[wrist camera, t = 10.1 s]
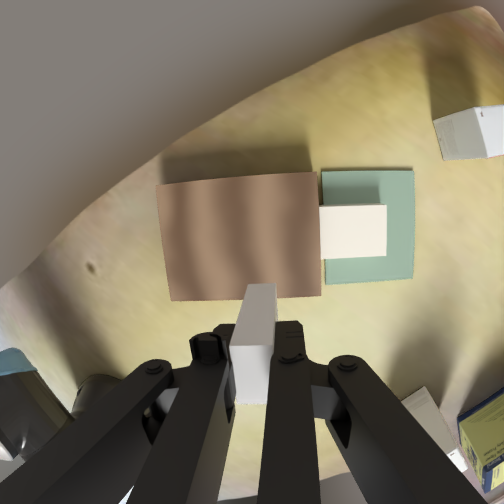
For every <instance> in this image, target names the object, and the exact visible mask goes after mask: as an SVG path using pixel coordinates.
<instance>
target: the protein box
mask: <svg viewBox="0 0 504 504" xmlns="http://www.w3.org/2000/svg"><path fill="white" fill-rule="evenodd" d="M457 424H458V431H459V439H460V444H461V446H462V448H463V450H464V452H465V454H466V456H467V458H468V460H469V462H470V463H471V466H472V468H473V470H474V472H475V474H476V476H477V478H478V480H479V482H480V484H481V486H482V489H483V491H484V493H487V492H489V491H490V490H492V489H493V488H495V487H496V486H498V485H499V484H501V483H502V482H504V387H503V388H502V389H501V390H499V391H498V392H496V393H495V394H494V395H492V396H491V397H489V398H488V399H486V400H485V401H483V402H482V403H480V404H479V405H477V406H476V407H474V408H472V409H471V410H469V411H468V412H466V413H464V414H463V415H461V416H459V417H458V418H457Z"/></svg>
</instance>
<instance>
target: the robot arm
mask: <svg viewBox="0 0 504 504" xmlns="http://www.w3.org/2000/svg"><path fill="white" fill-rule="evenodd" d="M189 343H190V348H191V353H192V358H193V360H192V362H191V364H190V366H188V367H183V368H177V369H172V366H171V364H170V363H169V362H168V361H166V360H161V359H155V360H154V359H153V360H150V361H147V362H144V363H143V364H141V365H140V366H138V367H137V368H136V369H135V370H134V371H133V372H132V373H130V374H129V375H128V376H127V377H126V378H125V379H123V380H122V381H121V380H119V379H116V378H114V377H111V376H107V375H93V376H90V377H89V378H87V379H86V380H85V381H84V382H83V384H82V385H81V386H80V387H79V389H78V392H77V397H76V399H75V402H74V405H73V408H72V412H71V413H69V411H68V410H67V409H66V408H65V407H64V405H63V404H62V403H61V402H60V401H59V399H58V398H57V397H56V396H55V394H54V393H53V392H52V391H51V389H50V388H49V387H48V385H47V384H46V383H45V381H44V380H43V379H42V377H41V376H40V374H39V373H38V372H37V369H36V368H35V367H34V366H33V365H32V364H31V363H30V361H29V360H28V359H27V357H26V356H25V355H24V353H23V352H22V351H21V350H19V349H17V348H8V349H6V350H3V351H1V352H0V460H8V461H12V460H13V459H14V458H15V457H16V456H17V455H18V454H19V455H20V456H21V457H22V458H23V459H24V461H25V463H24V464H23V465H21V466H20V467H19V468H18V469H17V470H15V471H14V472H13V473H12V474H11V475H9V476H8V477H7V478H6V479H5V480H3V481H2V482H1V483H0V504H119V502H120V501H121V500H122V499H123V498H124V497H125V495H126V494H127V493H128V492H129V491H130V489H131V488H132V487H133V486H134V487H133V489H132V491H131V494H130V496H129V498H128V500H127V502H126V504H217V499H218V494H219V490H220V485H221V480H222V476H223V471H224V466H225V461H226V456H227V452H228V447H229V442H230V437H231V432H232V427H233V422H234V417H235V413H236V412H235V405H234V401H235V396H236V400H237V404H267V407H266V418H265V429H264V439H263V449H262V459H261V469H260V479H259V488H258V497H257V504H321V499H320V484H319V469H318V456H317V444H316V432H315V421H314V418H321V419H325V423H326V425H327V427H328V429H329V431H330V433H331V435H332V437H333V439H334V441H335V443H336V445H337V446H338V448H339V450H340V452H341V454H342V456H343V458H344V460H345V462H346V464H347V466H348V467H349V469H350V471H351V473H352V475H353V477H354V479H355V481H356V483H357V484H358V486H359V488H360V490H361V492H362V494H363V496H364V498H365V500H366V501H367V503H368V504H488V503H487V502H486V501H485V500H484V499H483V497H482V496H481V495H480V494H479V493H478V491H477V490H476V489H475V488H474V487H473V486H472V484H471V483H470V482H469V481H468V480H467V478H466V477H465V476H464V475H463V474H462V473H461V471H460V470H459V469H458V468H457V467H456V465H455V464H454V463H453V462H452V461H451V460H450V458H449V457H448V456H447V455H446V454H445V453H444V451H443V450H442V449H441V448H440V447H439V446H438V444H437V443H436V442H435V441H434V440H433V439H432V437H431V436H430V435H429V434H428V433H427V432H426V430H425V429H424V428H423V427H422V426H421V425H420V424H419V422H418V421H417V420H416V419H415V418H414V417H413V415H412V414H411V413H410V412H409V411H408V410H407V409H406V407H405V406H404V405H403V404H402V403H401V402H400V400H399V399H398V398H397V397H396V396H395V395H394V394H393V392H392V391H391V390H390V389H389V388H388V387H387V386H386V384H385V383H384V382H383V381H382V380H381V379H380V378H379V376H378V375H377V374H376V373H375V372H374V371H373V370H372V369H371V367H370V366H369V365H368V364H367V363H366V362H365V361H364V360H363V359H362V358H360V357H357V356H354V355H342V356H338V357H335V358H333V359H332V360H331V361H330V362H329V364H328V365H322V364H317V363H315V362H312V361H311V360H309V359H308V357H307V355H306V350H305V341H304V333H303V325H302V324H301V323H299V322H298V321H278V308H277V290H276V283H263V284H248V286H247V289H246V293H245V296H244V299H243V303H242V306H241V309H240V312H239V315H238V319H237V322H236V324H220V325H218V326H217V327H216V328H215V329H214V330H213V332H205V333H201V334H197V335H195V336H193V337H192V338H191V339H190V340H189Z"/></svg>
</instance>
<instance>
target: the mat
mask: <svg viewBox="0 0 504 504" xmlns="http://www.w3.org/2000/svg"><path fill="white" fill-rule="evenodd" d="M321 174H322V191H323V205H330V204H362V203H382V204H385V205H387V248H386V256H374V257H356V258H337V259H325V284H326V285H333V284H349V283H363V282H377V281H389V280H402V279H413V266H414V245H415V184H414V171H330V172H321Z"/></svg>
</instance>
